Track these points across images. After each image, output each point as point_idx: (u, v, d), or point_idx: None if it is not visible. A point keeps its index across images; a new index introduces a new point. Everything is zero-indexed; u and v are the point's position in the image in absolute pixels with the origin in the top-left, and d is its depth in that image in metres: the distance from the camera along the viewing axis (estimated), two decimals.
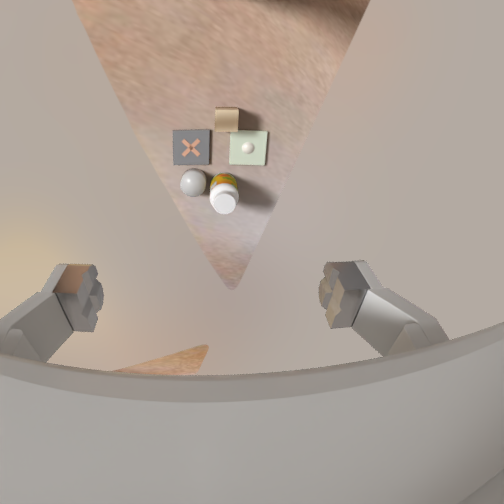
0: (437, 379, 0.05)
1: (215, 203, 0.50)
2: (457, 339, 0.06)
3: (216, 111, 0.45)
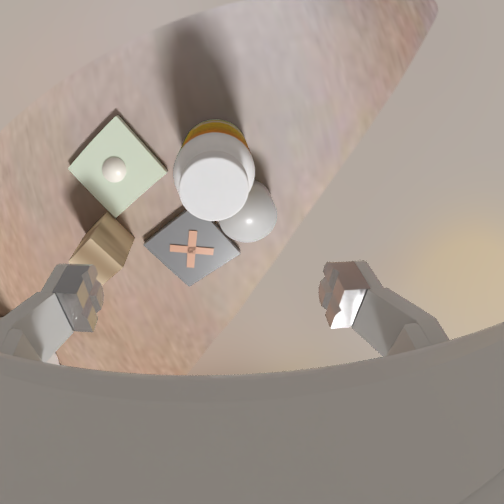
0: (437, 379, 0.05)
1: (228, 212, 0.17)
2: (457, 339, 0.06)
3: None
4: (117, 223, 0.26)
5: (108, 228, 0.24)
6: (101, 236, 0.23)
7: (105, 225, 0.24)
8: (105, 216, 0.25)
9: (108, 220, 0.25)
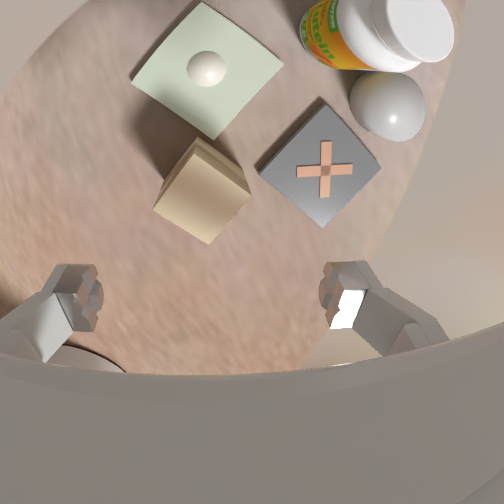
0: (437, 379, 0.05)
1: (442, 51, 0.08)
2: (457, 339, 0.06)
3: (209, 239, 0.17)
4: (215, 150, 0.19)
5: (209, 151, 0.17)
6: (206, 156, 0.15)
7: (204, 147, 0.17)
8: (198, 139, 0.17)
9: (204, 144, 0.18)
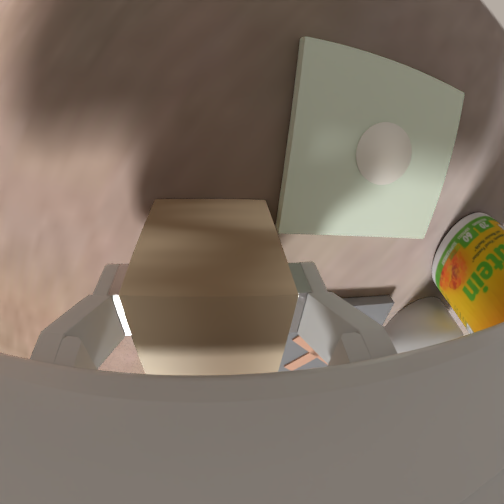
0: (437, 379, 0.05)
1: None
2: (457, 339, 0.06)
3: None
4: None
5: None
6: None
7: None
8: None
9: None
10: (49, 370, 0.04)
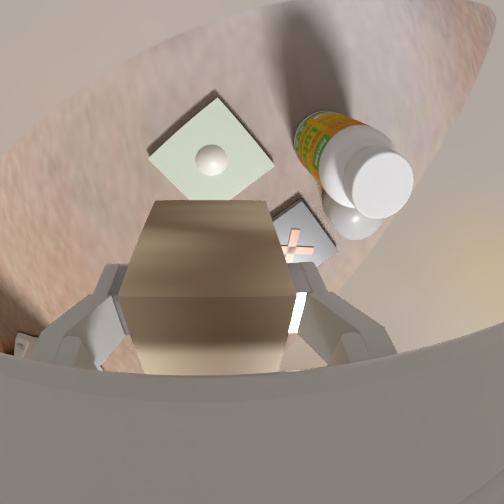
0: (437, 379, 0.05)
1: (392, 210, 0.15)
2: (457, 339, 0.06)
3: None
4: None
5: None
6: None
7: None
8: None
9: None
10: (49, 370, 0.04)
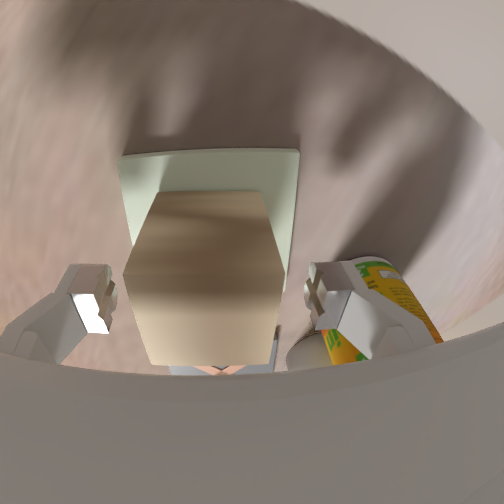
0: (437, 379, 0.05)
1: None
2: (457, 339, 0.06)
3: (159, 361, 0.09)
4: None
5: None
6: None
7: None
8: None
9: None
10: (49, 370, 0.04)
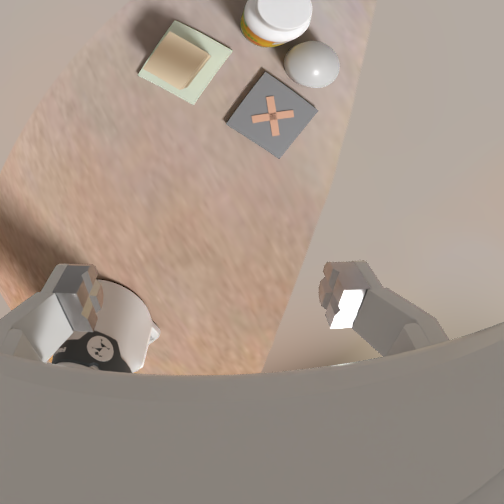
0: (437, 379, 0.05)
1: (302, 20, 0.15)
2: (457, 339, 0.06)
3: (180, 86, 0.21)
4: None
5: None
6: None
7: None
8: None
9: None
10: (49, 370, 0.04)
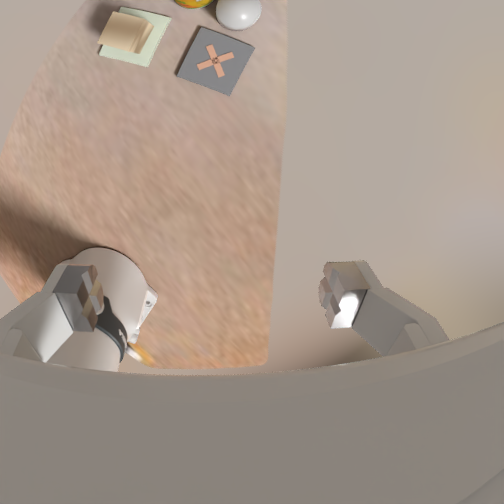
0: (437, 379, 0.05)
1: None
2: (457, 339, 0.06)
3: (127, 48, 0.22)
4: None
5: None
6: None
7: None
8: None
9: None
10: (49, 370, 0.04)
